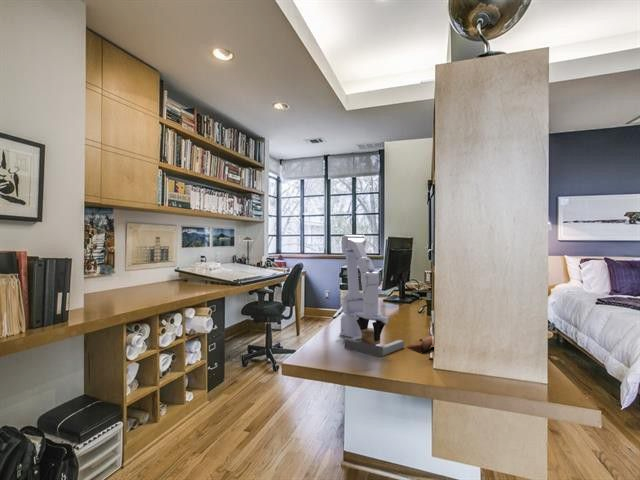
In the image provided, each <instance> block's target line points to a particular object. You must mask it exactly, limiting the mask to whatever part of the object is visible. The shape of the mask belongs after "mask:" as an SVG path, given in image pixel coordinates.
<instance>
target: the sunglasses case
mask: <svg viewBox="0 0 640 480" xmlns="http://www.w3.org/2000/svg"><path fill="white" fill-rule="evenodd" d="M432 336H433V335H429V336H426V337H422V338H420V339H419V340H417V341H415V342H413V343H410V344H408V345H407V346H406V347H405V349H407V348H408V349H407V350H412V351H415V352H417V351H418V353H421V352H423V353H425V352H428V351H430V350H431V349H430V347H431V345H432ZM429 349H430V350H429Z"/></svg>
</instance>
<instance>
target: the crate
mask: <svg viewBox="0 0 640 480" xmlns="http://www.w3.org/2000/svg"><path fill="white" fill-rule="evenodd" d="M361 333H362V342H365V343H368V344H372V345H376V346H378V345H380V344H381V338H380V339H379V341H375V340H374V328H372V327H368V328H367V329H363V330H362V331H361Z"/></svg>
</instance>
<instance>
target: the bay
mask: <svg viewBox="0 0 640 480" xmlns="http://www.w3.org/2000/svg"><path fill="white" fill-rule="evenodd" d="M343 343H344V344H343V345H344V348H346V349H350V350H353V351H357V352H359V353H360V352H361V353H363V354H367V355H371V356H374V357H378V358H381V357H383V356H386V355H388V354H391V353H393V352H395V351H399V350H401V349H403V348H404V344H405V343H404V340H401V339H398V340H394V341H391V342H389V343H387V344H384V345H381V346H380V345H372V344H368V343H365V342H362V335H361V336H358V337H355V338H352V337H347V338H344V342H343Z"/></svg>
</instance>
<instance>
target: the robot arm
mask: <svg viewBox="0 0 640 480" xmlns="http://www.w3.org/2000/svg"><path fill="white" fill-rule="evenodd" d="M366 246H367V238H366V237H365V235H364V234H343V236H341V253H342V255H344V256H345V262H346V273H347V275H346V276H347V289H348V291H347V293H345V295H344V296H343V297H342V304H341V307H342V308H341V309H342V312H343V314H342V315H341V317H340V332H339V335H340V336H345V337H347V338H355V337H358V336H361V335H362V333H361V331H362V330H363V329H367V328H369V323H370V321H372V322H371V323H372V327H373V329H374V340H375V341H379V339H380V340H381V334H382V332H383V328H384V327H385V326H386V324H389V323H390V322H389V321H390V320H389V319H390V317H389V316H384V315H381V314H379V287H380V286H381V283H382V275H381V272H380V271H378V269H376V268H375V266H374V264H373V261H372V260H371V258H370V257H368V256H367V251H366V249H365V248H366ZM359 272H360V279H359ZM359 280H360V281H359ZM360 282H361V290H362V291H363V292H361V291H360ZM373 321H374V322H373Z"/></svg>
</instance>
